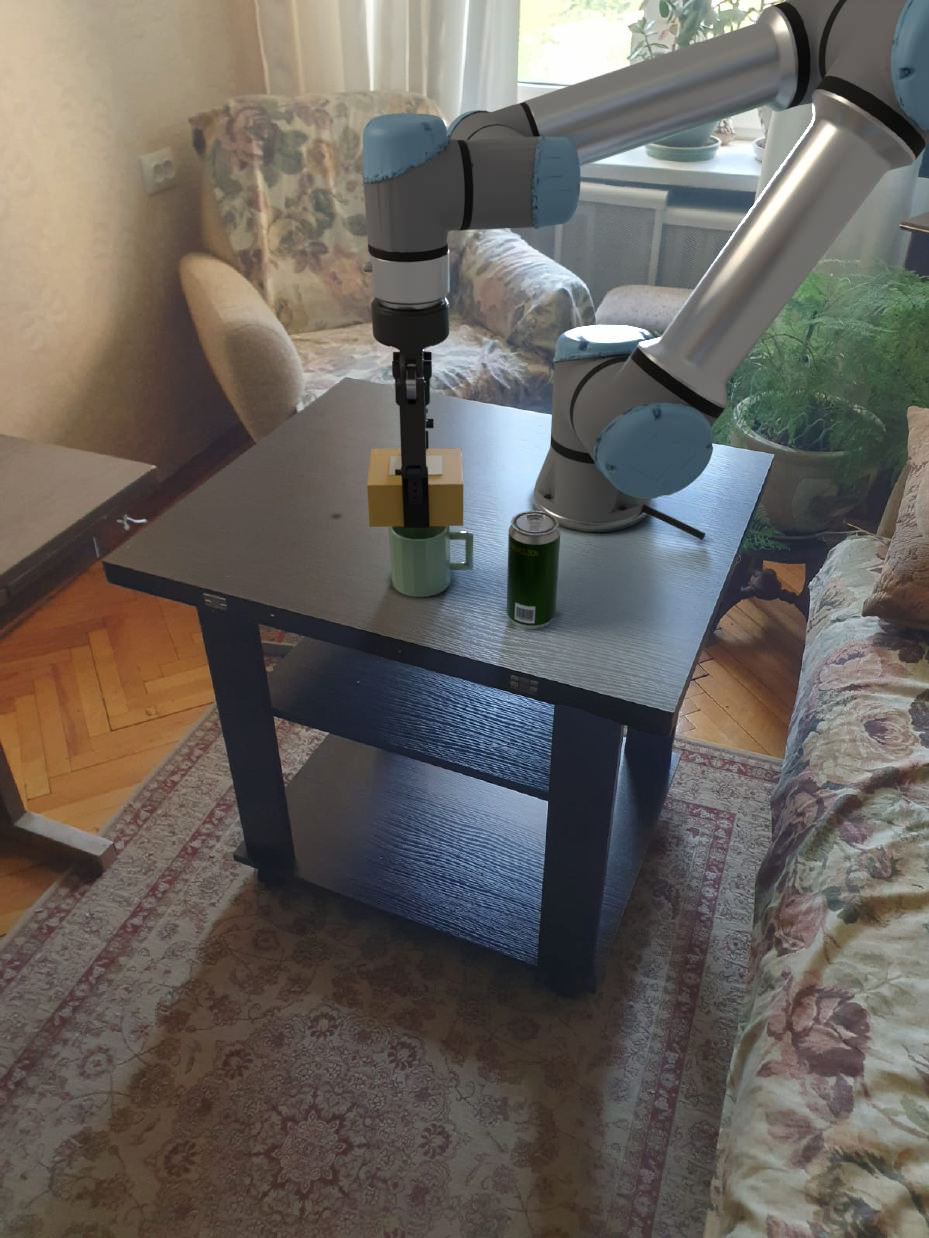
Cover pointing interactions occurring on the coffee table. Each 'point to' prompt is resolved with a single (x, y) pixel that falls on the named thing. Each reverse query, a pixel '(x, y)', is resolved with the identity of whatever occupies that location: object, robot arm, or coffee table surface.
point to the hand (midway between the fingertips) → (417, 504)
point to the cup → (425, 558)
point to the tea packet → (441, 483)
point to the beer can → (532, 569)
